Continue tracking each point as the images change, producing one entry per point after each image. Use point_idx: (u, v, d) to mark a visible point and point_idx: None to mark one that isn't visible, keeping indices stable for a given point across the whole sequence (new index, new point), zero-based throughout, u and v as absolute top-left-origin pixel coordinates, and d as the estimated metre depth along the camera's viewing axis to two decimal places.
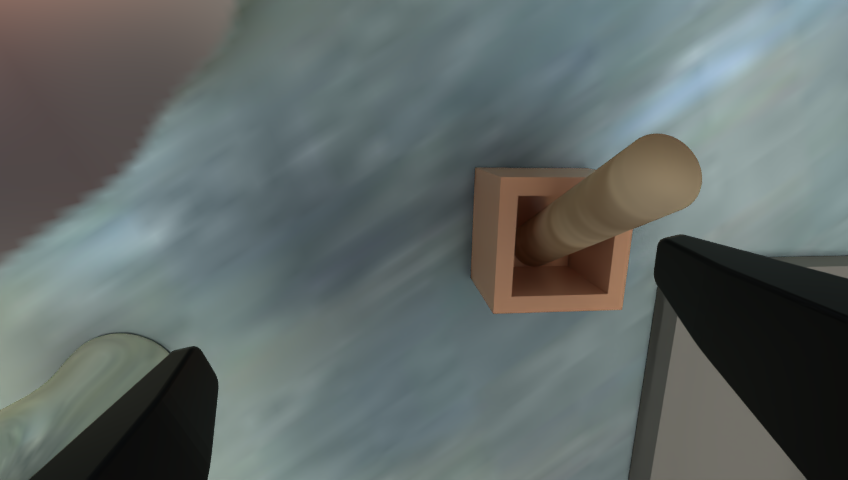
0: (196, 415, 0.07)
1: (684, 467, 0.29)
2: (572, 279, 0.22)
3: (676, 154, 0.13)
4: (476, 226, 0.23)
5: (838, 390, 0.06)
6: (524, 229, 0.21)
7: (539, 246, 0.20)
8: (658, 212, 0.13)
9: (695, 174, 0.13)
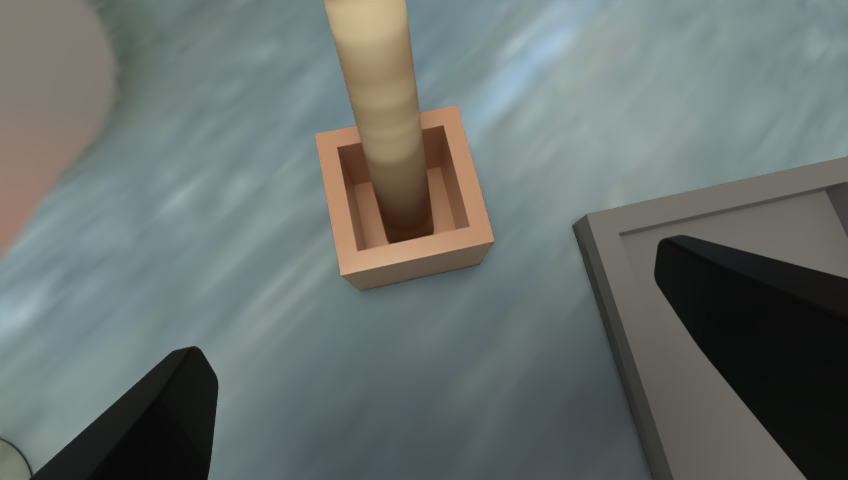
0: (196, 415, 0.07)
1: None
2: None
3: None
4: None
5: (840, 391, 0.06)
6: None
7: (381, 198, 0.18)
8: (361, 16, 0.12)
9: None
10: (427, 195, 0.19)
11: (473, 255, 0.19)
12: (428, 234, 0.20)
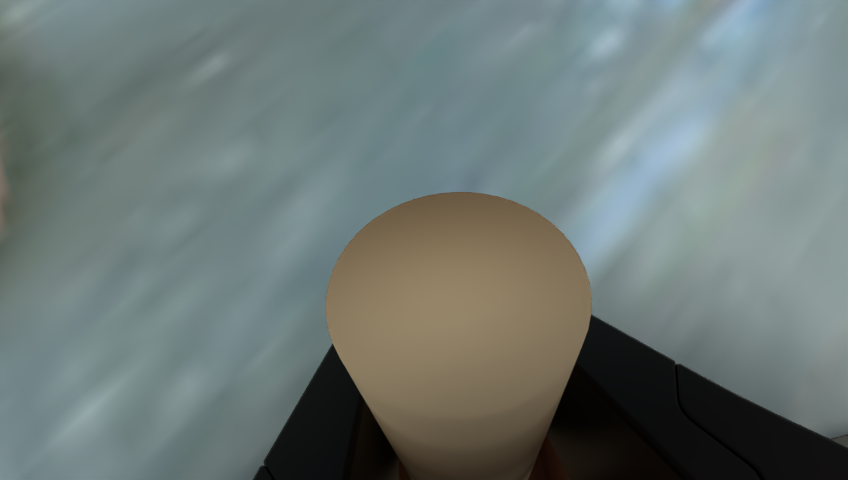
0: None
1: None
2: None
3: (491, 228, 0.04)
4: None
5: (597, 452, 0.05)
6: None
7: None
8: (464, 423, 0.03)
9: (562, 265, 0.04)
10: None
11: None
12: None
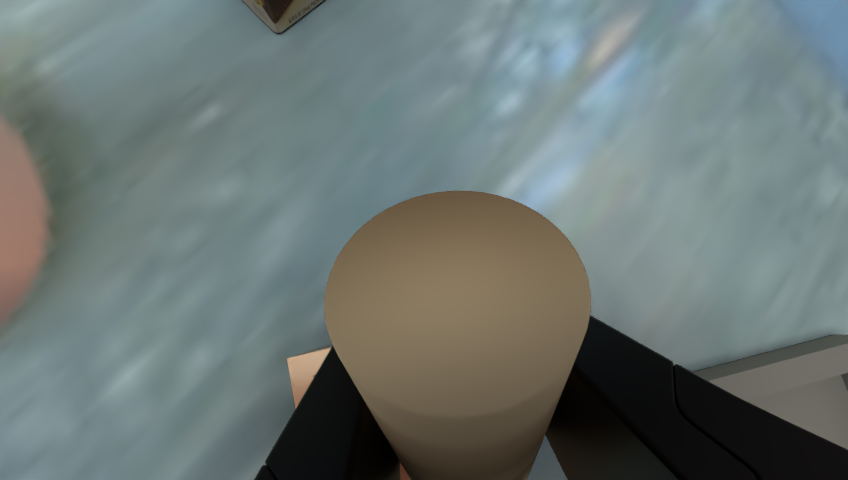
0: None
1: None
2: None
3: (490, 226, 0.04)
4: None
5: (595, 452, 0.05)
6: None
7: None
8: (463, 422, 0.03)
9: (561, 263, 0.04)
10: None
11: None
12: None
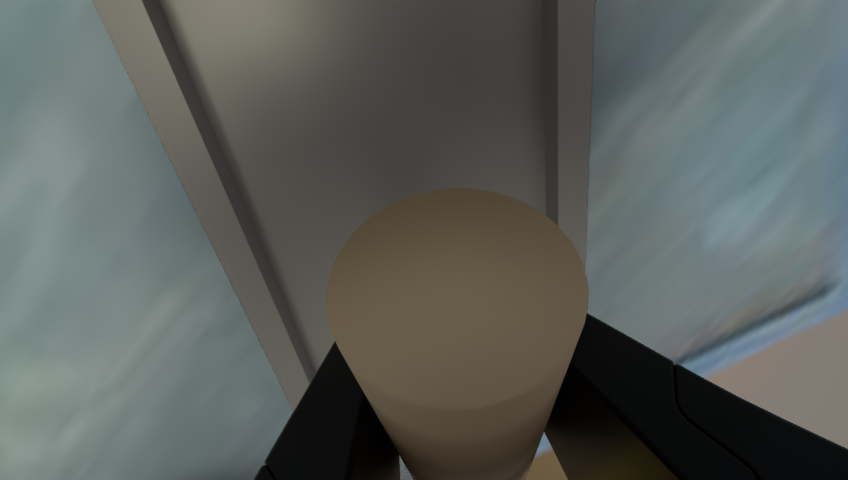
0: None
1: None
2: None
3: (490, 223, 0.04)
4: None
5: (596, 453, 0.05)
6: None
7: None
8: (461, 415, 0.03)
9: (558, 260, 0.04)
10: None
11: None
12: None
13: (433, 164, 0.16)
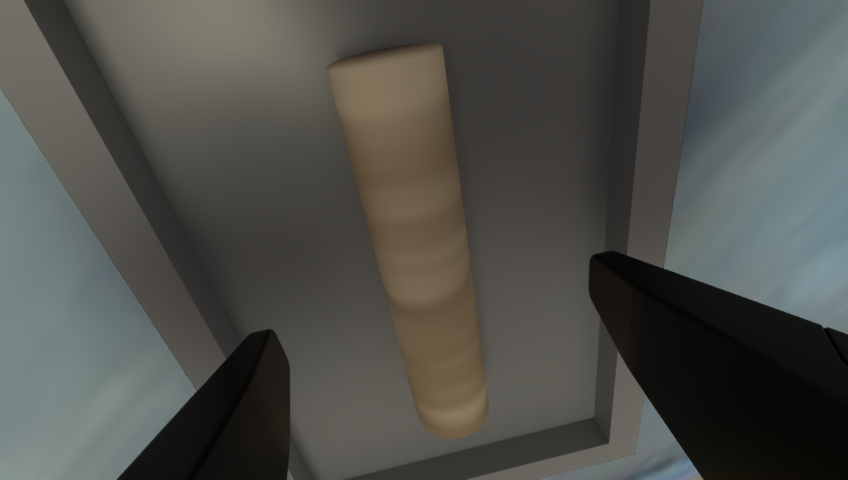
0: (277, 396, 0.07)
1: (336, 397, 0.15)
2: None
3: (404, 47, 0.09)
4: None
5: (738, 416, 0.06)
6: None
7: (412, 359, 0.12)
8: (381, 74, 0.08)
9: (432, 46, 0.09)
10: (480, 351, 0.13)
11: None
12: (482, 411, 0.14)
13: None
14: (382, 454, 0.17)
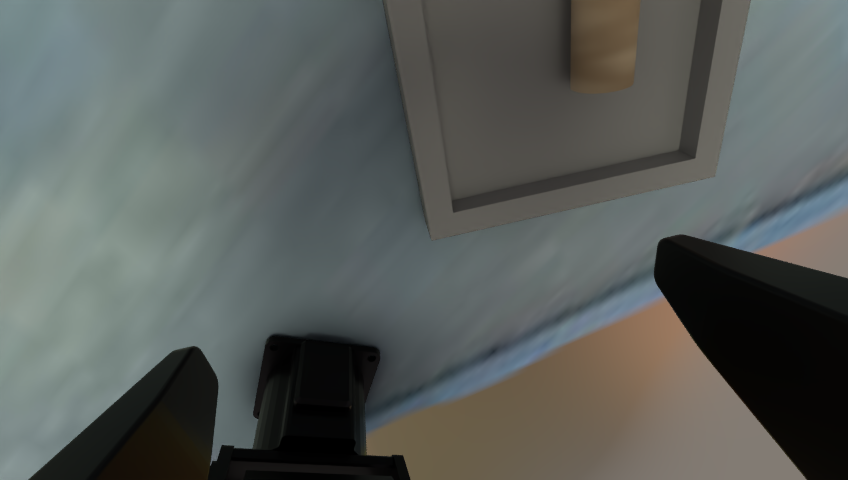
0: (196, 415, 0.07)
1: (479, 93, 0.18)
2: None
3: None
4: None
5: (838, 390, 0.06)
6: (585, 36, 0.16)
7: None
8: None
9: None
10: None
11: None
12: None
13: None
14: (504, 169, 0.20)
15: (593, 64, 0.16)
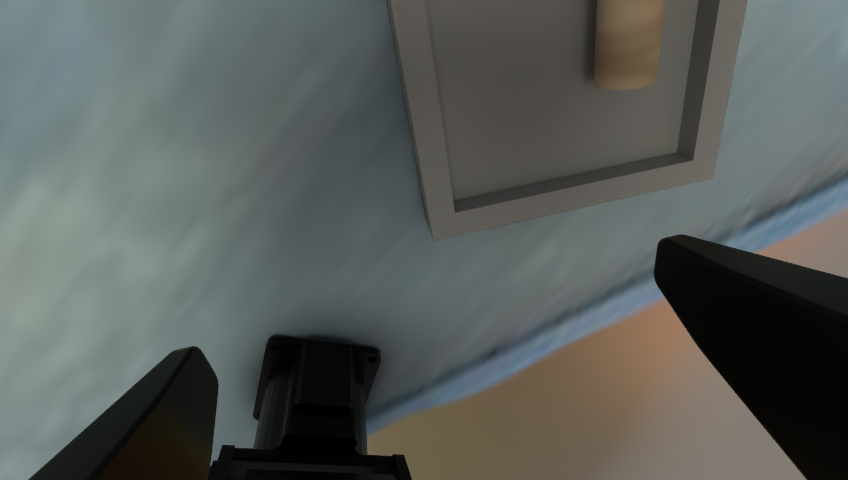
0: (196, 415, 0.07)
1: (481, 95, 0.19)
2: None
3: None
4: None
5: (839, 391, 0.06)
6: (640, 31, 0.16)
7: None
8: None
9: None
10: None
11: None
12: None
13: None
14: (505, 170, 0.21)
15: (646, 57, 0.17)
